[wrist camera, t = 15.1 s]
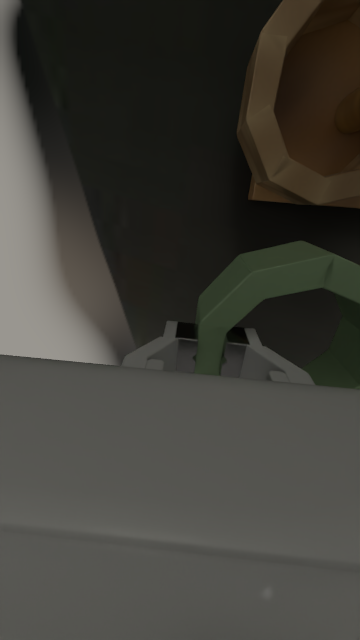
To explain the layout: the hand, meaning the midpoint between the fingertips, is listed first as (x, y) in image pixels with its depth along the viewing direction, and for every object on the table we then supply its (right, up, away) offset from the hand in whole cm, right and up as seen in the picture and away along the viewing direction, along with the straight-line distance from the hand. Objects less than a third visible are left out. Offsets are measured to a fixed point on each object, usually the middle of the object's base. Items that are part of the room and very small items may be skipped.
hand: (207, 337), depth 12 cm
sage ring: (+4, 0, +2) cm, 4 cm away
